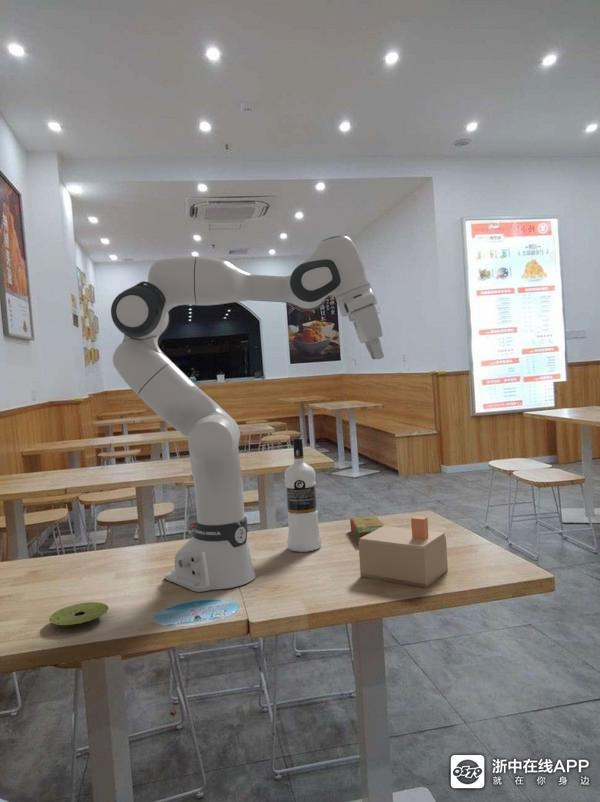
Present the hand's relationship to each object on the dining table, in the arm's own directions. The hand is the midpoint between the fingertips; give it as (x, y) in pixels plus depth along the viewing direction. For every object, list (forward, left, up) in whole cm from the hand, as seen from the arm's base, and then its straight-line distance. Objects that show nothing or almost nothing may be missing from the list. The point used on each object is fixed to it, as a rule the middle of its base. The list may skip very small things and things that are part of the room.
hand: (378, 358), depth 138 cm
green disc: (-41, -56, -50) cm, 86 cm away
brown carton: (+5, -3, -49) cm, 50 cm away
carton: (-17, +19, -50) cm, 56 cm away
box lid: (+5, -3, -41) cm, 42 cm away
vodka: (-28, +4, -50) cm, 57 cm away
